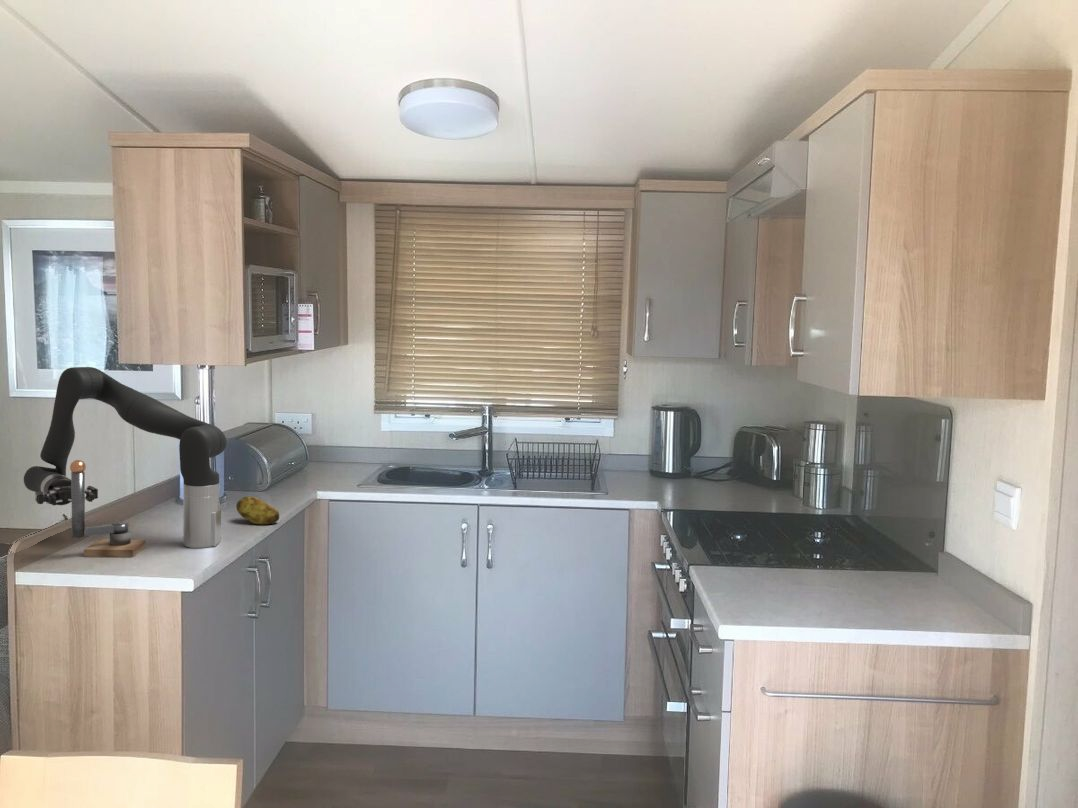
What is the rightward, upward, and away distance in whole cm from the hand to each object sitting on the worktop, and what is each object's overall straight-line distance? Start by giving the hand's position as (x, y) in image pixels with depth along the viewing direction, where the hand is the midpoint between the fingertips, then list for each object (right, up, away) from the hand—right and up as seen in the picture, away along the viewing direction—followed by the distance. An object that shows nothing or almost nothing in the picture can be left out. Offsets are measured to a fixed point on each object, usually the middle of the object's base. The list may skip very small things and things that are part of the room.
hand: (73, 499), depth 216 cm
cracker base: (+10, -14, +3) cm, 17 cm away
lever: (+7, -9, 0) cm, 11 cm away
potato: (+35, -12, +40) cm, 54 cm away
